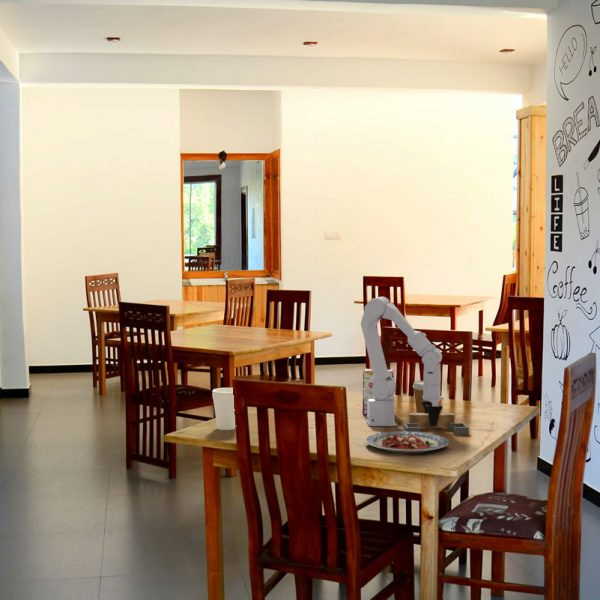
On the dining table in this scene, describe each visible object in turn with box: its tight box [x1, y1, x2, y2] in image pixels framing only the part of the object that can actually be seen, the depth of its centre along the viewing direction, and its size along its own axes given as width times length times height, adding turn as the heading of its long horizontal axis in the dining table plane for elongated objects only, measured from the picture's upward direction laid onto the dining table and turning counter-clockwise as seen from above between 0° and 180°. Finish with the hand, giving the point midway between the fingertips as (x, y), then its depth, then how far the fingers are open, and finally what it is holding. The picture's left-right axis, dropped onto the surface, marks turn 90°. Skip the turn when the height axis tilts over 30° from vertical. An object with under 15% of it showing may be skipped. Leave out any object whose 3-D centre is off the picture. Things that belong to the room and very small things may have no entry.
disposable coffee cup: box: [412, 380, 425, 413], centre depth 335 cm, size 10×10×12 cm
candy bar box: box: [361, 368, 395, 416], centre depth 336 cm, size 11×5×16 cm, turn 80°
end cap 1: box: [402, 422, 422, 432], centre depth 306 cm, size 5×7×2 cm, turn 2°
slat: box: [408, 412, 455, 430], centre depth 314 cm, size 15×4×5 cm, turn 91°
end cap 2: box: [449, 422, 470, 436], centre depth 307 cm, size 5×7×2 cm, turn 2°
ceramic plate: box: [365, 430, 449, 454], centre depth 287 cm, size 26×26×3 cm
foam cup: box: [211, 387, 236, 431], centre depth 313 cm, size 10×9×13 cm
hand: (431, 423), depth 314 cm, fingers open, 7 cm apart
